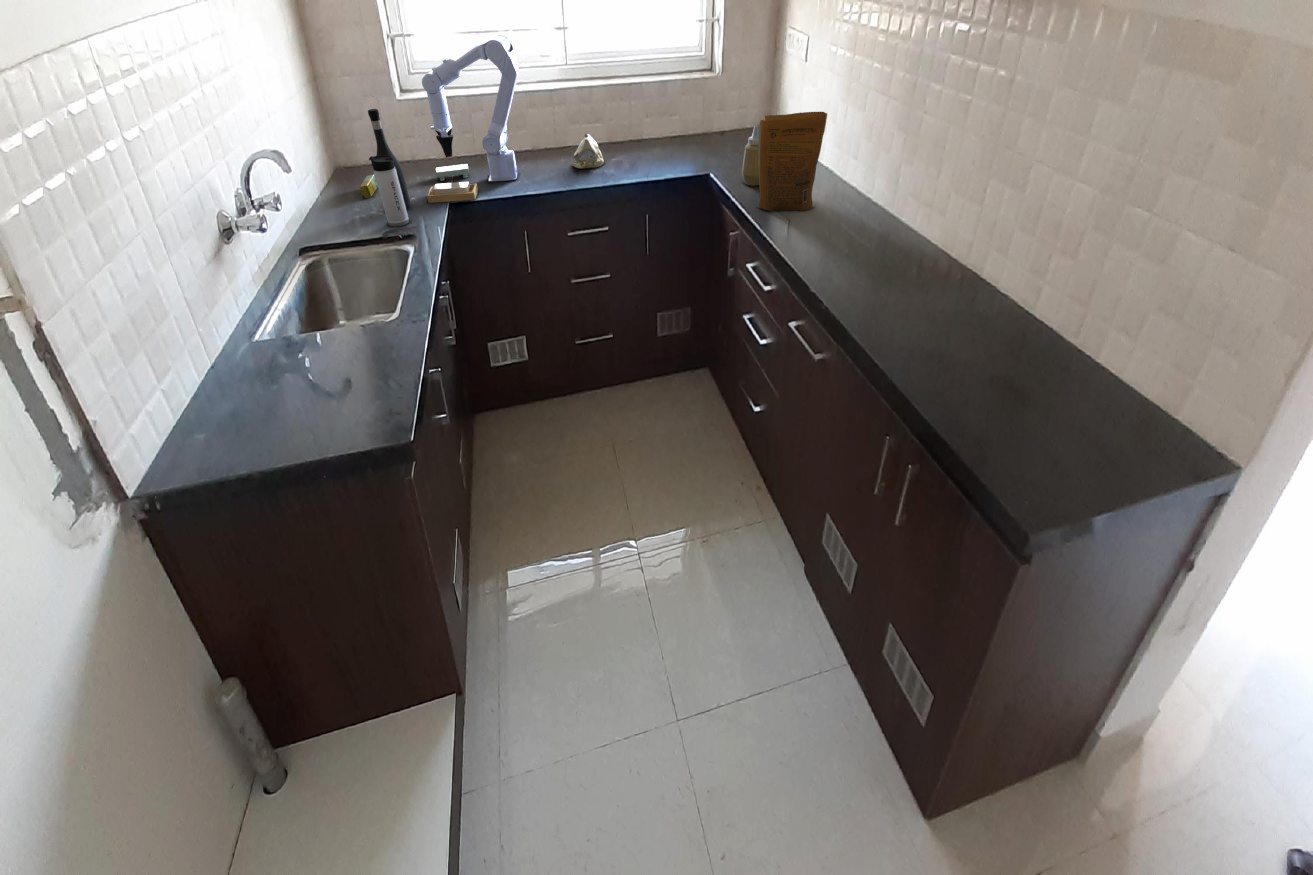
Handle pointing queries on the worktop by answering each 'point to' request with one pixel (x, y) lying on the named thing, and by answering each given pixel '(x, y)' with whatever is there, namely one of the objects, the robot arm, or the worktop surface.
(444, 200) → the tray
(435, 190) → the off-white rectangular slab
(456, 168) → the sage green thick block
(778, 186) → the pancake mix bag
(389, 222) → the travel mug
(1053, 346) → the worktop surface
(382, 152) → the wine bottle
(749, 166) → the squeeze bottle
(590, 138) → the ceramic model
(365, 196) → the medication box
